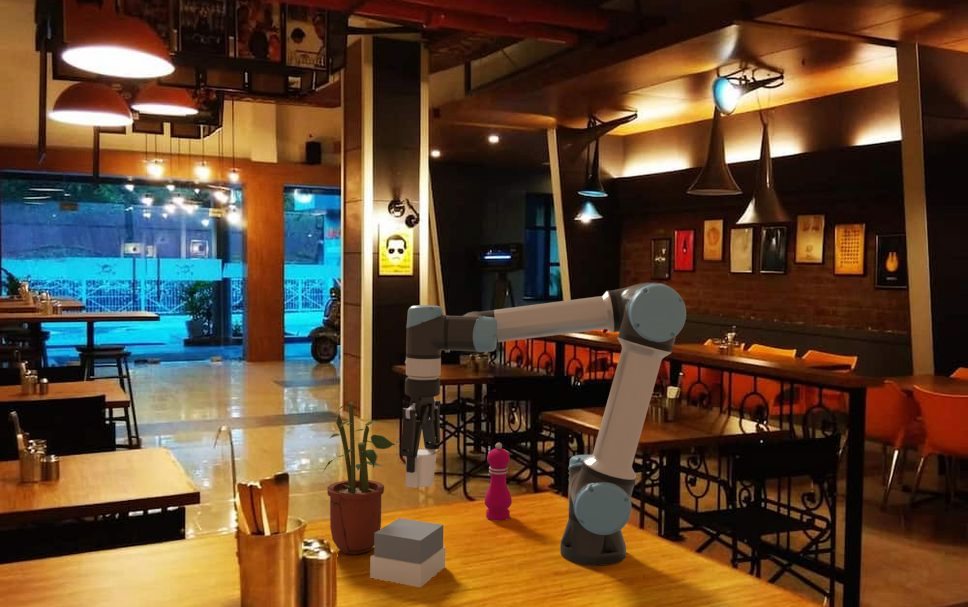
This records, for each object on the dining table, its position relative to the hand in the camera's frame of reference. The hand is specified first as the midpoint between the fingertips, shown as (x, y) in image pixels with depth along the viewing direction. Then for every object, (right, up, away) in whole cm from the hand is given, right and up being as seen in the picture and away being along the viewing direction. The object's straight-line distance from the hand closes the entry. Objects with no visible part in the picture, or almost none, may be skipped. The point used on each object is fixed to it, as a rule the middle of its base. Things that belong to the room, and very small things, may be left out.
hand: (420, 482), depth 173 cm
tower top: (-2, -15, 0) cm, 15 cm away
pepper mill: (+18, -18, +39) cm, 46 cm away
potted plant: (-17, -19, +16) cm, 30 cm away
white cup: (0, -1, 0) cm, 1 cm away
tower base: (-3, -20, 0) cm, 20 cm away
